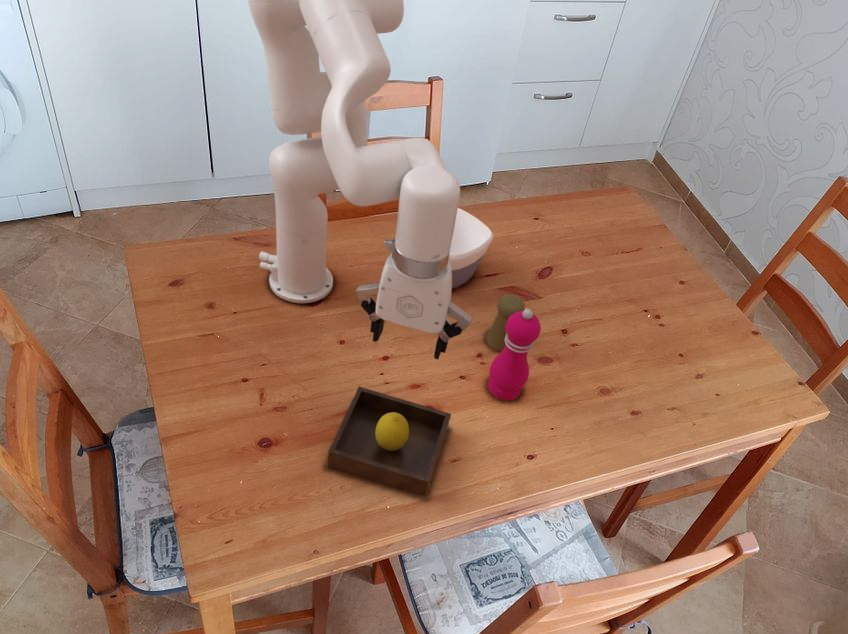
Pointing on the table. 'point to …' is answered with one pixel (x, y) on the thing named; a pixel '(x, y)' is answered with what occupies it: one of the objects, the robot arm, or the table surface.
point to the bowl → (467, 246)
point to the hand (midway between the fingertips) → (408, 344)
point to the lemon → (392, 431)
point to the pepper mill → (514, 356)
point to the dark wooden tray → (393, 468)
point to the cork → (503, 320)
